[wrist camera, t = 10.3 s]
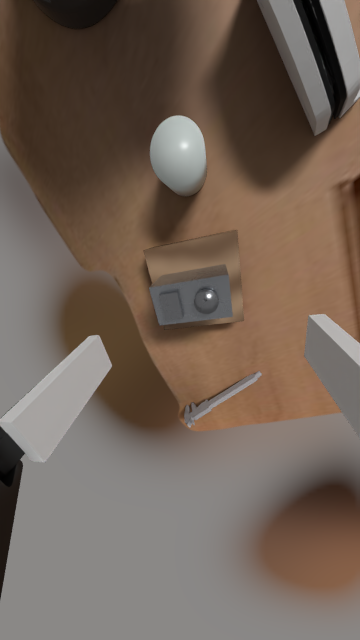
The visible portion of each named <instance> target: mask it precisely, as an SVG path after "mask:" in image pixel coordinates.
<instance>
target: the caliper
mask: <svg viewBox="0 0 360 640" xmlns="http://www.w3.org/2000/svg"><path fill="white" fill-rule="evenodd" d="M261 375H262V374H261V373H260V371H258V372H256V373H255V374H252V375H250V376H247V377H246V378H244V379H243V380H241V381H239V382H238V383H236V384H235V385H233V386H232V387H230V388H229V389H227V390H225V391H224V392H222V393H221V394H219V395H217V396H216V397H214V398H213V399H211V400H210V401H208V400H205V401H204V402H202V403H201V404H200V405H199V406H198V407H197V406H196V405H195V404H194V403H193V402H192V403H191V404H192V405H191V406H192V412H191V413H190V407H189V406H188V405H186V408H185V415H184V418H185V423H186V424H187V425H188V426H189V427H191V424H193V425H195V424H194V419H195V420H197V419H199V418H200V417H202V416H203V415H205V414H206V413H208V412H210V411H211V409H212V408H213V407H215V406H217V405H218V404H220V403H221V402H223V401H225V400H226V399H228V398H230V397H231V396H233V395H234V394H236V393H238V392H239V391H241V390H242V389H244V388H246V387H247V386H249V385H250V384H252V383H254V382H255V381H257V378H258V377H260V376H261Z"/></svg>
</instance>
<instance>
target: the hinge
mask: <svg viewBox="0 0 360 640" xmlns="http://www.w3.org/2000/svg"><path fill="white" fill-rule="evenodd" d="M257 2H258V5H259V7H260V9H261V12H262V14H263V16H264V19H265V21H266V23H267V26H268V28H269V30H270V33H271V35H272V37H273V40H274V42H275V44H276V47H277V49H278V51H279V54H280V56H281V58H282V61H283V63H284V65H285V68H286V70H287V72H288V75H289V77H290V79H291V82H292V84H293V86H294V89H295V91H296V93H297V96H298V98H299V100H300V103H301V105H302V107H303V110H304V112H305V114H306V117H307V119H308V121H309V124H310V126H311V128H312V131H313V133H314V135H315V136H316V135H318V134H320V133H321V132H323V131H325V130H326V129H327V126H328V124H329V123H330V121H331V118H332V115H333V116H334V119H335V118H337V117H338V116H339V118H341V117H342V115H343V114H344V113H345V112H346V111H347V110H348V109H349V108H350V107H351V106H352V105H353V104H354V103H355V102H356V101H357V100H358V99H359V98H360V59H359V55H358V50H357V46H356V42H355V38H354V34H353V30H352V26H351V23H350V19H349V16H348V12H347V9H346V5H345V1H344V0H257Z"/></svg>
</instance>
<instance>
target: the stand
mask: <svg viewBox="0 0 360 640" xmlns="http://www.w3.org/2000/svg"><path fill="white" fill-rule="evenodd" d="M144 255H145V259H146V262H147V266H148V270H149V274H150V277H151V281H152V284H153V283H154V282H155V281H156V280H157V279H158V278H160V277H161V276H162V275H166V274H172V273H177V272H183V271H188V270H194V269H200V268H205V267H211V266H216V265H222V264H226V267H227V271H228V274H229V283H230V293H231V303H232V312H233V317H227V318H219V319H210V320H202V321H193V322H185V323H176V324H168V325H163V326H164V330H168V329H177V328H186V327H195V326H204V325H213V324H222V323H231V322H240V321H244V314H243V300H242V287H241V274H240V261H239V247H238V234H237V230H232V231H228V232H223V233H218V234H214V235H209V236H204V237H200V238H195V239H190V240H186V241H181V242H176V243H172V244H167V245H162V246H158V247H153V248H149V249H147V250H144Z"/></svg>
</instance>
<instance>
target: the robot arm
mask: <svg viewBox="0 0 360 640" xmlns="http://www.w3.org/2000/svg"><path fill="white" fill-rule="evenodd" d="M33 1H34V2H35V3H36V4H37V6H38V7H39V8H40V9H41V10H42V11H43V12H44V13H45V14H46V15H47V16H48V17H50V18H51V19H52V20H54V21H55V22H57V23H59V24H61V25H63V26H66V27H70V28H84V27H88V26H91V25H93V24H95V23H97V22H98V21H99V20H101V19H102V18H103V17H104V16H105V15H106V14H107V13H108V12H109V11H110V10H111V8H112V7H113V6H114V4H115V2H116V1H117V0H33ZM304 356H305V358H306V359H307V361H308V362H309V364H310V365H311V367H312V368H313V370H314V371H315V373H316V374H317V376H318V377H319V379H320V380H321V382H322V383H323V385H324V386H325V388H326V389H327V391H328V392H329V394H330V395H331V396H332V398H333V399H334V401H335V402H336V404H337V405H338V407H339V408H340V410H341V411H342V413H343V414H344V416H345V417H346V419H347V420H348V422H349V423H350V425H351V426H352V428H353V429H354V431H355V432H356V434H357V435H358V437H359V438H360V343H358V342H357V341H356V340H355V339H354V338H352V337H351V336H350V335H349V334H348V333H347V332H345V331H344V330H343V329H342V328H341V327H339V326H338V325H337V324H336V323H335V322H333V321H332V320H331V319H330V318H329V317H327V316H326V315H325V314H318V315H309V316H308V325H307V334H306V344H305V353H304ZM111 367H112V365H111V362H110V360H109V358H108V355H107V353H106V351H105V348H104V346H103V344H102V341H101V339H100V337H99V335H96V336H89V337H88V338H87V339H86V340H85V341H84V342H82V343H81V344H80V345H79V346H78V347H77V348H76V349H75V350H74V351H73V352H72V353H71V354H70V355H69V356H68V357H66V358H65V359H64V360H63V361H62V362H61V363H60V364H59V365H58V366H57V367H56V368H55V369H53V370H52V371H51V372H50V373H49V374H48V375H47V376H46V377H45V378H44V379H43V380H42V381H40V382H39V383H38V384H37V385H36V386H35V387H33V389H31V390H30V391H29V392H28V393H27V394H26V395H25V396H24V397H23V398H22V399H21V400H20V401H19V402H17V403H16V404H15V405H14V406H13V407H12V408H11V409H10V410H9V411H8V412H7V413H5V414H4V415H3V416H2V417H1V418H0V598H1V592H2V586H3V581H4V575H5V569H6V563H7V557H8V551H9V545H10V539H11V533H12V527H13V522H14V515H15V510H16V504H17V498H18V492H19V486H20V480H21V474H22V468H23V463H22V461H21V460H20V459H21V458H22V456H23V455H24V454H26V455H27V457H28V458H29V459H30V460H31V461H36V462H46V460H47V459H48V457H49V456H50V454H51V453H52V452H53V450H54V449H55V447H56V446H57V444H58V443H59V442H60V440H61V439H62V437H63V436H64V434H65V433H66V432H67V430H68V429H69V427H70V426H71V424H72V423H73V422H74V420H75V419H76V417H77V416H78V414H79V413H80V412H81V410H82V409H83V407H84V406H85V404H86V403H87V401H88V400H89V399H90V397H91V396H92V394H93V393H94V391H95V390H96V389H97V387H98V386H99V384H100V383H101V381H102V380H103V378H104V377H105V375H106V374H107V373H108V371H109V370H110V368H111Z"/></svg>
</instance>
